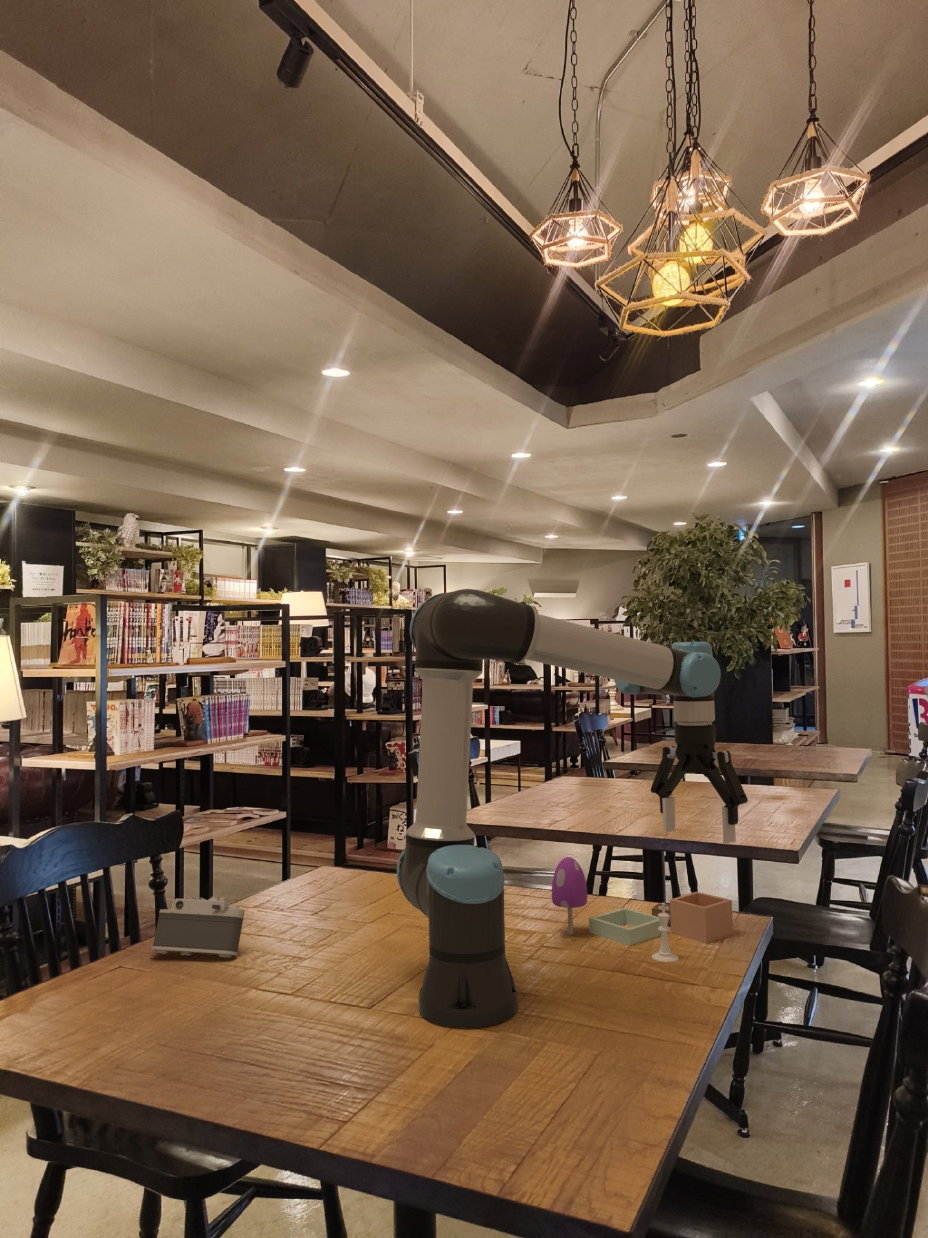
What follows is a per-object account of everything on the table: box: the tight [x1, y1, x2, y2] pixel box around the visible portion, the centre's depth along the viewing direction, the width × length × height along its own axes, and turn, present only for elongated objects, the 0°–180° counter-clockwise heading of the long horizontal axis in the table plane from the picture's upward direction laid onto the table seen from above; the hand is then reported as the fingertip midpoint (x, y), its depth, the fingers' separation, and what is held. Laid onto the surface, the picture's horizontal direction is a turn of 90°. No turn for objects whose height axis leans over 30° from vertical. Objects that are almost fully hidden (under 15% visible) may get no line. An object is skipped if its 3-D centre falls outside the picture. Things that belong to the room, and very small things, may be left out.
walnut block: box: [651, 902, 671, 928], centre depth 170 cm, size 4×4×4 cm
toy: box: [551, 856, 588, 939], centre depth 165 cm, size 7×7×15 cm
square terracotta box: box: [669, 891, 734, 945], centre depth 163 cm, size 8×8×7 cm
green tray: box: [588, 907, 662, 946], centre depth 165 cm, size 10×10×4 cm
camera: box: [151, 896, 245, 959], centre depth 163 cm, size 9×16×10 cm, turn 84°
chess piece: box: [651, 902, 679, 963], centre depth 151 cm, size 5×5×10 cm
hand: (698, 836), depth 164 cm, fingers open, 13 cm apart
